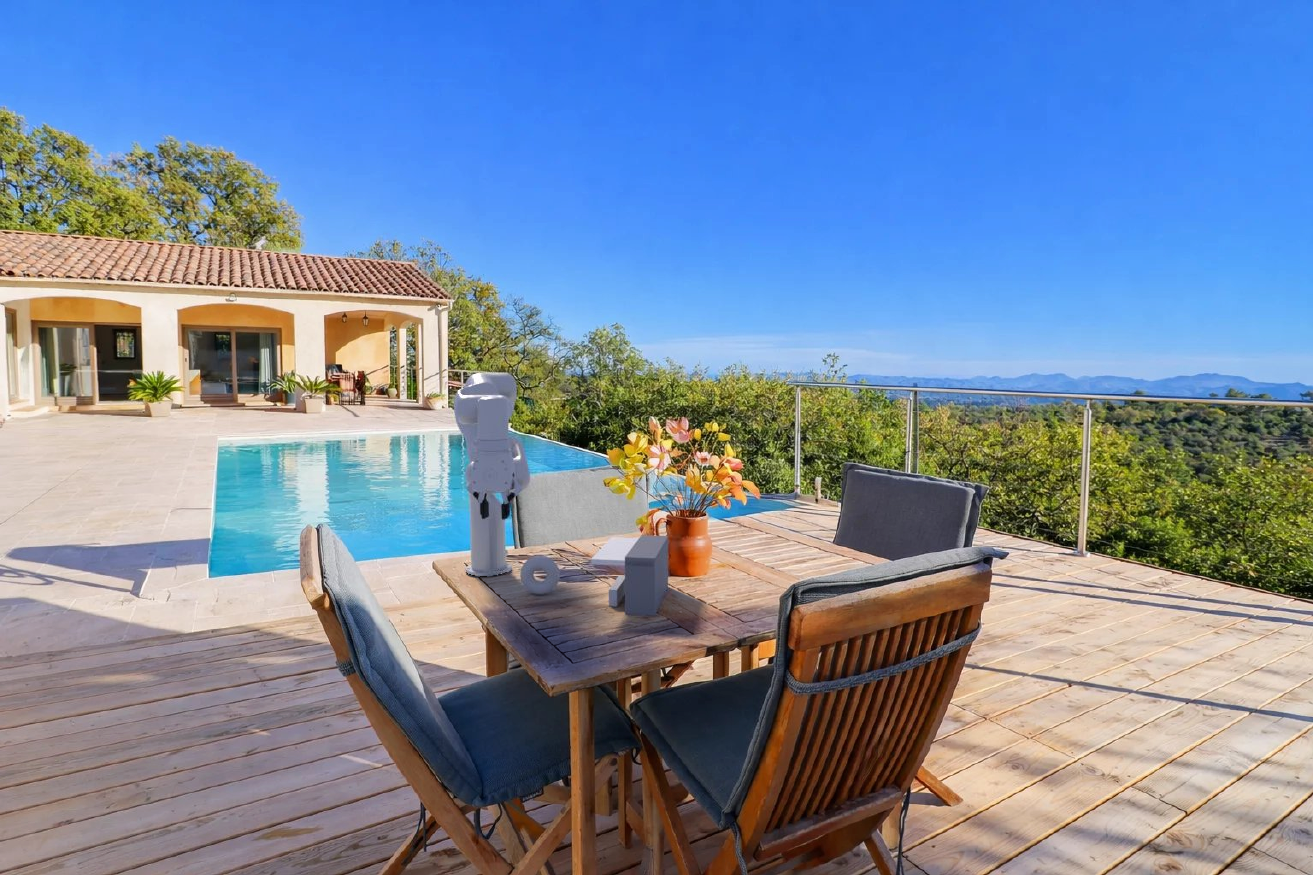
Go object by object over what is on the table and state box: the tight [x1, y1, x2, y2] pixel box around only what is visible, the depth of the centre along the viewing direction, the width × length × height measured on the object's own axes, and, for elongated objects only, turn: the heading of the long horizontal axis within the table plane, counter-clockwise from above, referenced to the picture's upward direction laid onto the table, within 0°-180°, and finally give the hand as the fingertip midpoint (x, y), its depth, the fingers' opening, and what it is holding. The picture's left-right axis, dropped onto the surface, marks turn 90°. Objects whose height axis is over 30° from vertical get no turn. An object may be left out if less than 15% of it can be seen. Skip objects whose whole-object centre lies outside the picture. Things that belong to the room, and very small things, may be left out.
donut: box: [519, 555, 561, 596], centre depth 177 cm, size 10×4×10 cm, turn 89°
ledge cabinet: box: [590, 534, 669, 617], centre depth 174 cm, size 22×15×14 cm
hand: (495, 517), depth 178 cm, fingers open, 4 cm apart
